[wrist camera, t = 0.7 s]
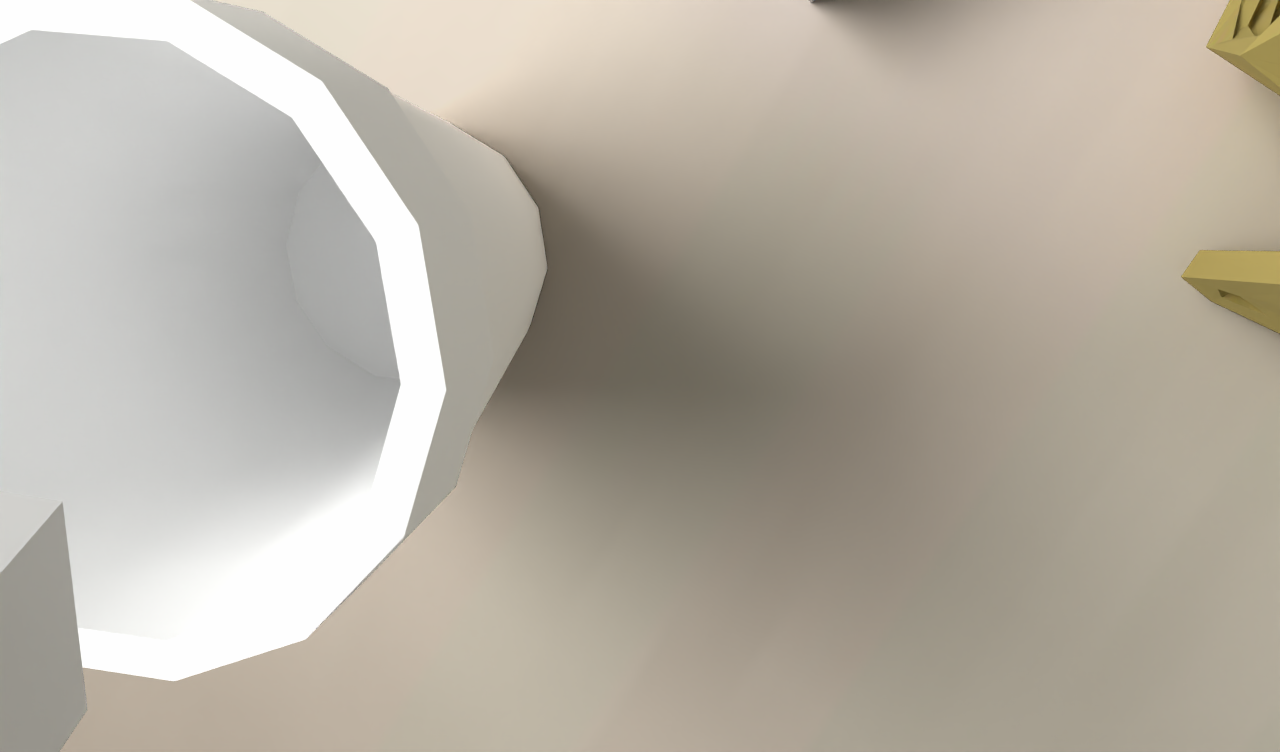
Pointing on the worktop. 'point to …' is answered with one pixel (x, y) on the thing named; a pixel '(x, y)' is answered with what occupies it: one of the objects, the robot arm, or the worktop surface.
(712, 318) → the worktop surface
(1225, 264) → the ball valve
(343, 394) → the foam cup
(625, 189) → the worktop surface
